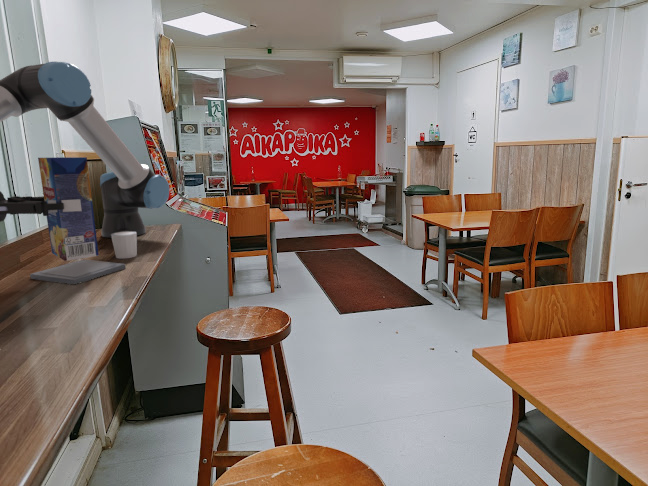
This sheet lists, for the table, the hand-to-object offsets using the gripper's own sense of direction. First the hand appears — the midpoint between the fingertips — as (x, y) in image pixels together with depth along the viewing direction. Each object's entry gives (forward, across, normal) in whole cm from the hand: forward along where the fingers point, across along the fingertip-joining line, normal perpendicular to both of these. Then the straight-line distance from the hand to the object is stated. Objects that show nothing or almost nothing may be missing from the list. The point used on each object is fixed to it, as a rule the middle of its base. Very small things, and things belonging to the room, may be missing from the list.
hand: (86, 202), depth 105 cm
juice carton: (-4, 0, -13) cm, 14 cm away
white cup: (+6, -16, -18) cm, 25 cm away
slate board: (-3, 0, -18) cm, 18 cm away
